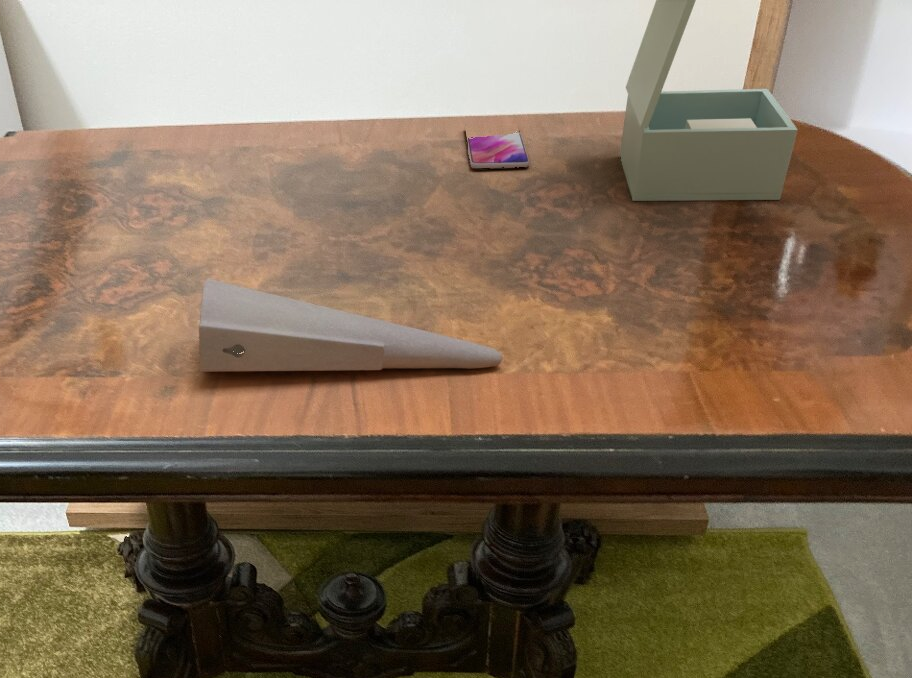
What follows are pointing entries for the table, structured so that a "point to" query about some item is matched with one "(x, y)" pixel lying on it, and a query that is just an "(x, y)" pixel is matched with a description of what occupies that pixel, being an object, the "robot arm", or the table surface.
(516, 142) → the smartphone
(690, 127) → the stepped cream block
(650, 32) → the shoebox lid
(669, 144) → the shoebox
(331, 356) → the grey tapered spike
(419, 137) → the table surface
